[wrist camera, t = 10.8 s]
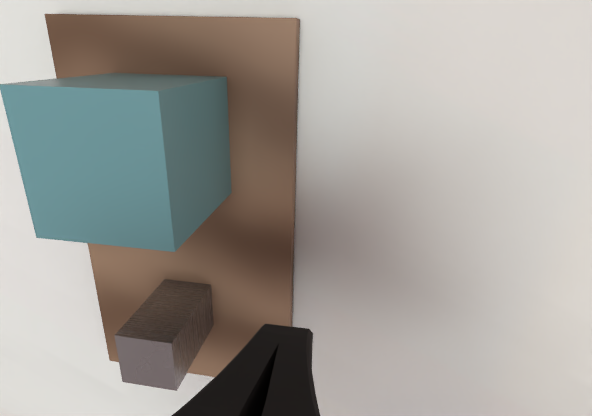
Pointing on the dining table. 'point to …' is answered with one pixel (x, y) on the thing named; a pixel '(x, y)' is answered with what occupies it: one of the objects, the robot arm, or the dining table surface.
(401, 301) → the dining table surface
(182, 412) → the robot arm
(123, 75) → the teal foam cube
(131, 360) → the steel post
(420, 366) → the dining table surface
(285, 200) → the base board
